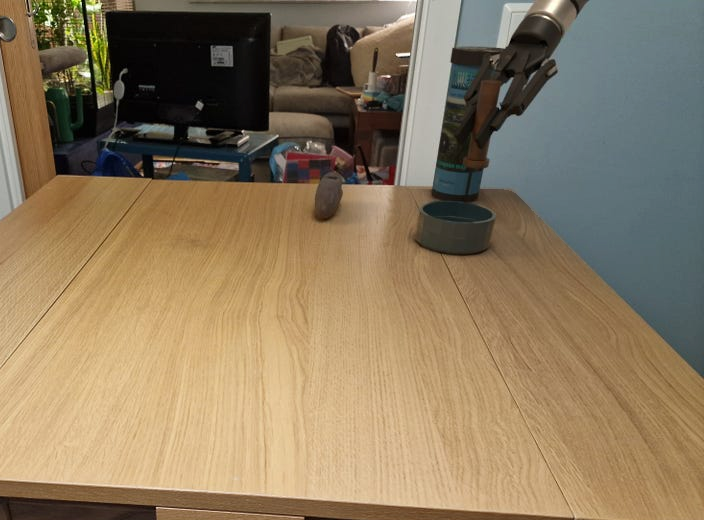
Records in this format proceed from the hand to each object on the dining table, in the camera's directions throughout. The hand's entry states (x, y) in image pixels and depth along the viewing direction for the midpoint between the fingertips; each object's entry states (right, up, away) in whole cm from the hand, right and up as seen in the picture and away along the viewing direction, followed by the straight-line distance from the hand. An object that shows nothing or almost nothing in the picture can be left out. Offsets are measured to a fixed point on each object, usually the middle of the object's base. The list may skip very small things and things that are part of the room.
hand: (468, 141), depth 114 cm
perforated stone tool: (-21, -7, +24) cm, 33 cm away
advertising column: (+10, -1, +35) cm, 36 cm away
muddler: (+3, -3, +4) cm, 6 cm away
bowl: (0, -16, +9) cm, 18 cm away
